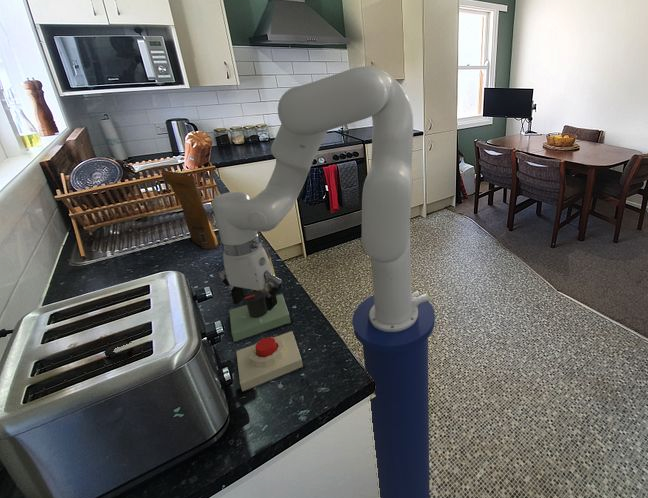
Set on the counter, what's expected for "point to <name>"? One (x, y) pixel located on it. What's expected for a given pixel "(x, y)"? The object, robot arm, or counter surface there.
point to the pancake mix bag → (192, 208)
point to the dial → (256, 304)
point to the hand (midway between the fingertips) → (255, 303)
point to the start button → (266, 347)
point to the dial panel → (257, 320)
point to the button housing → (268, 362)
